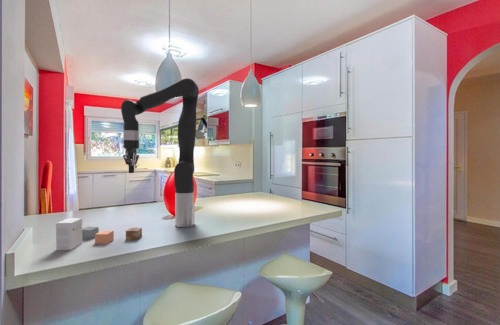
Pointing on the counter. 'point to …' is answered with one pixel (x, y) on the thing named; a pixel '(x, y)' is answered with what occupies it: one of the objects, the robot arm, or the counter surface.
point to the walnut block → (133, 233)
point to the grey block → (89, 232)
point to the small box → (68, 233)
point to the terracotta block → (104, 237)
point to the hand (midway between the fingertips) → (131, 172)
